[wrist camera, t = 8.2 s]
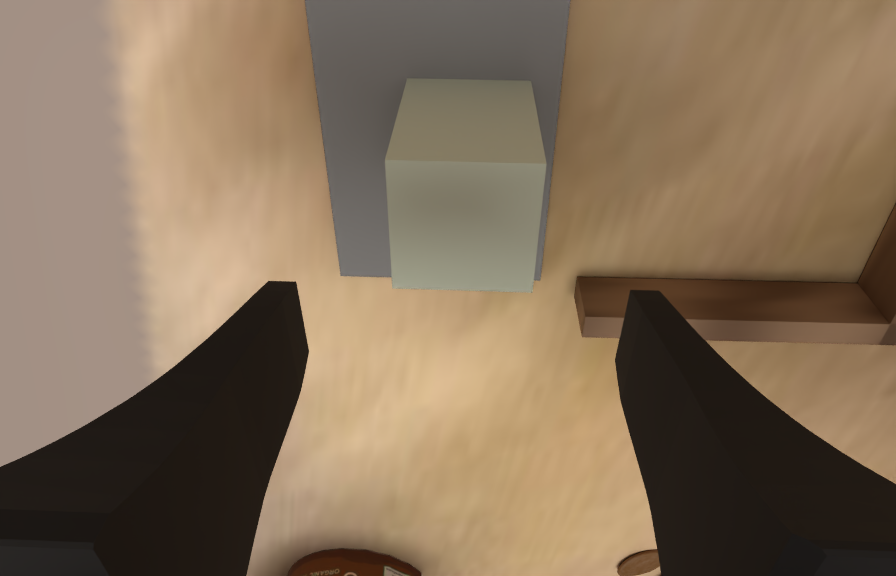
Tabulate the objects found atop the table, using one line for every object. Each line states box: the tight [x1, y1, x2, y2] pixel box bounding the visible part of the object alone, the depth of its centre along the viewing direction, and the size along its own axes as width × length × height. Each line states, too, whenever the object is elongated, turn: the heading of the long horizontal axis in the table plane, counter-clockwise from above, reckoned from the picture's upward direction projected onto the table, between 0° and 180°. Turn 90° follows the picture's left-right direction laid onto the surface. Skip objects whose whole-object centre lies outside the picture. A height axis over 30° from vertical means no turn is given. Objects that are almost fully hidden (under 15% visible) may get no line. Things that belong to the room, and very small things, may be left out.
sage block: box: [385, 78, 546, 293], centre depth 19 cm, size 4×4×6 cm
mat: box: [305, 0, 570, 281], centre depth 22 cm, size 8×12×1 cm, turn 0°
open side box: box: [574, 205, 896, 345], centre depth 20 cm, size 12×14×2 cm
